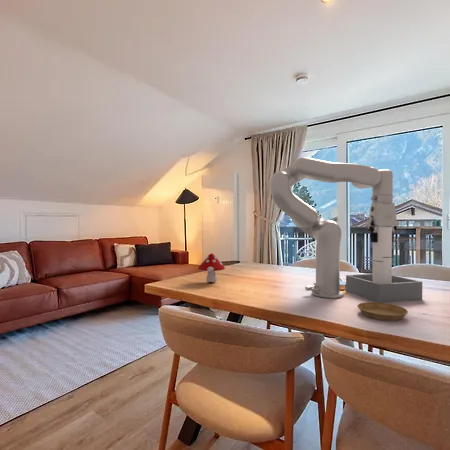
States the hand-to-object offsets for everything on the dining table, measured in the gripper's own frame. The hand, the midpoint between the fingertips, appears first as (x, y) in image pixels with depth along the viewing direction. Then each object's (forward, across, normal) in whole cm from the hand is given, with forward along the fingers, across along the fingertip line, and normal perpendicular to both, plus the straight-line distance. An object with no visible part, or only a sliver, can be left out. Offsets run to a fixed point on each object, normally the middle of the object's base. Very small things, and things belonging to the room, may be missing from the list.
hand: (382, 241), depth 123 cm
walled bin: (+22, 0, 0) cm, 22 cm away
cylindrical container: (+19, 0, 0) cm, 19 cm away
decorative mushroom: (+23, -65, +42) cm, 81 cm away
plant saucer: (+23, -20, -22) cm, 38 cm away
